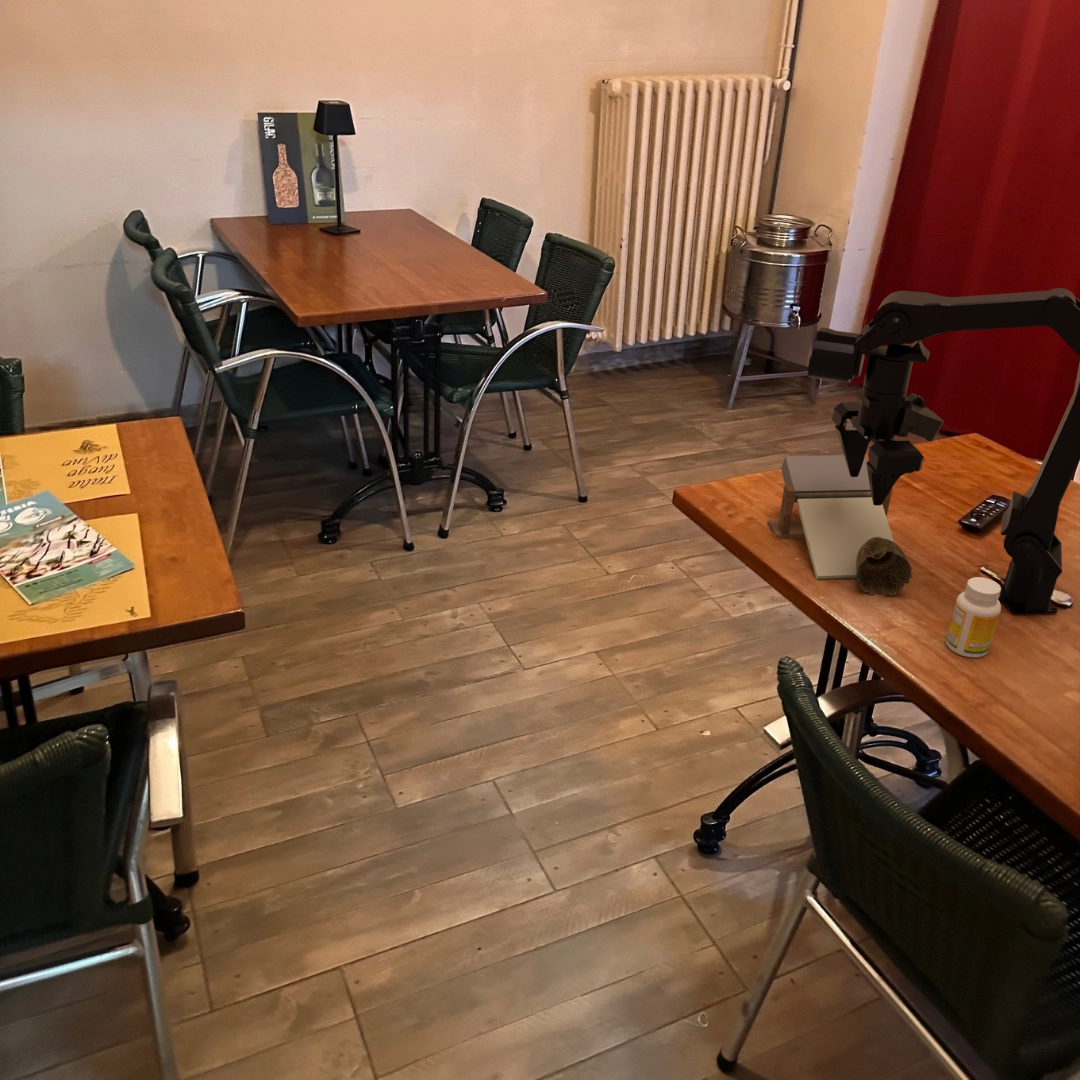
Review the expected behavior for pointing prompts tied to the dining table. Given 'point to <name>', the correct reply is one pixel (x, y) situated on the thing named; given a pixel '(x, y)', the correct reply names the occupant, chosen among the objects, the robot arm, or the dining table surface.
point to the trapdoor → (834, 512)
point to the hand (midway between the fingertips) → (865, 490)
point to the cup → (882, 567)
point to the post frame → (793, 527)
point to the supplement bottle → (974, 618)
